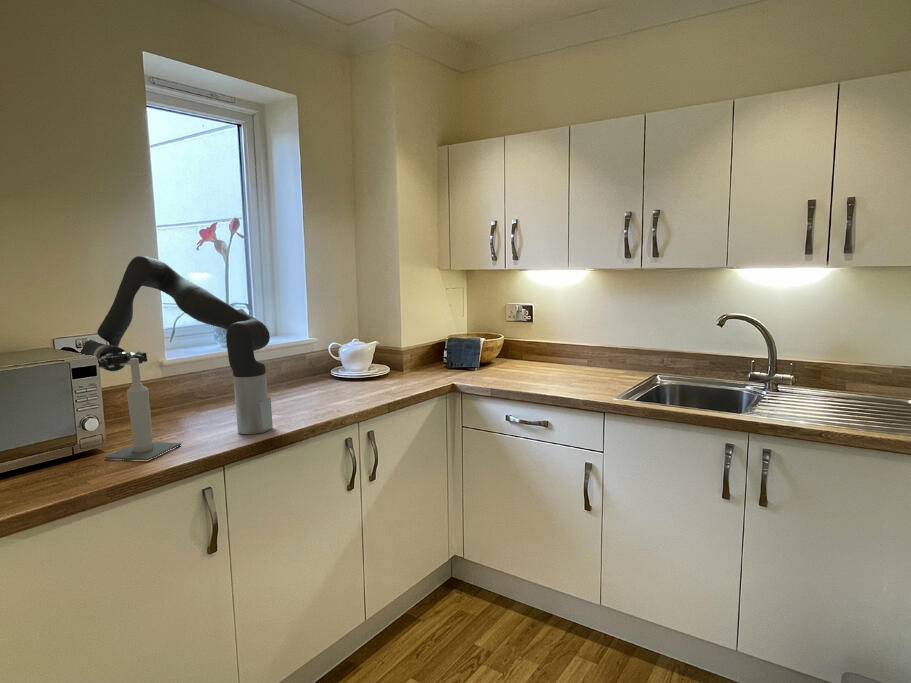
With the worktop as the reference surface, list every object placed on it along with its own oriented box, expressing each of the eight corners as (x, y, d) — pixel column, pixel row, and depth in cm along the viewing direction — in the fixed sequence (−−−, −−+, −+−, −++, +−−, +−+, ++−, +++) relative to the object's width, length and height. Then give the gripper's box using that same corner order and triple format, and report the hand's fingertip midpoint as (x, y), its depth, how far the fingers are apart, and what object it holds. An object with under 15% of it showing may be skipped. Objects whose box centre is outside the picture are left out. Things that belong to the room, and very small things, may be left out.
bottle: (158, 446, 159) (148, 356, 155) (148, 452, 154) (139, 360, 150) (139, 446, 159) (129, 357, 155) (129, 453, 154) (118, 360, 150)
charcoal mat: (181, 446, 161) (181, 443, 161) (147, 462, 148) (147, 459, 148) (141, 444, 164) (140, 441, 164) (104, 459, 151) (104, 456, 151)
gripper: (80, 348, 167) (93, 352, 155) (134, 342, 177) (150, 345, 165) (84, 373, 168) (96, 379, 156) (137, 366, 178) (153, 371, 166)
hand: (124, 362), depth 161 cm, fingers open, 8 cm apart
